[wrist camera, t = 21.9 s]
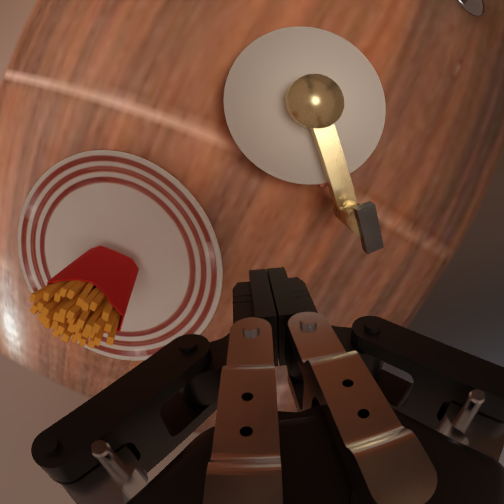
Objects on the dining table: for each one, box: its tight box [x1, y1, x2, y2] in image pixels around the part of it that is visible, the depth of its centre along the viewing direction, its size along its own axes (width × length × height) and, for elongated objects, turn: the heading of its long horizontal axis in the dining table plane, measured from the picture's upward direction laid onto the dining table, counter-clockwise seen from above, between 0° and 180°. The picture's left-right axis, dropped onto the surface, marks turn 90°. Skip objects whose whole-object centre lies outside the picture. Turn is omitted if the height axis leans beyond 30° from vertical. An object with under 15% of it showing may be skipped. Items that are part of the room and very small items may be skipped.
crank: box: [284, 74, 384, 254], centre depth 25 cm, size 16×5×7 cm, turn 21°
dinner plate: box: [18, 150, 223, 360], centre depth 34 cm, size 27×27×3 cm
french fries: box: [30, 246, 139, 349], centre depth 27 cm, size 8×4×12 cm, turn 65°
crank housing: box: [223, 26, 386, 187], centre depth 28 cm, size 16×16×4 cm
